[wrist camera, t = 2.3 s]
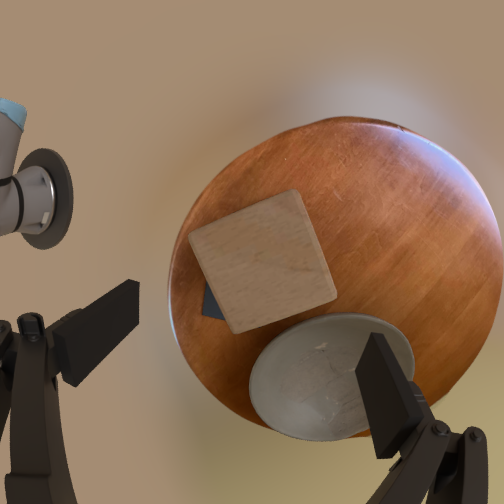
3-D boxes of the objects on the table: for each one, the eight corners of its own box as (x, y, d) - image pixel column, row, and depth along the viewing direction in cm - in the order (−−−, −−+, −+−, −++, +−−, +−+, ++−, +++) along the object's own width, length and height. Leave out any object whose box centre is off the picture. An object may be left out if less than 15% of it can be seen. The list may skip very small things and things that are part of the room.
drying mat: (203, 313, 48) (202, 314, 47) (210, 258, 45) (209, 259, 44) (260, 326, 47) (259, 328, 46) (272, 271, 44) (271, 272, 44)
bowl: (268, 420, 52) (265, 448, 44) (240, 306, 46) (231, 330, 38) (394, 400, 48) (404, 426, 40) (402, 279, 42) (422, 298, 34)
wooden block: (229, 215, 43) (183, 234, 23) (291, 189, 41) (296, 186, 21) (255, 275, 44) (232, 337, 25) (316, 251, 42) (339, 300, 23)
